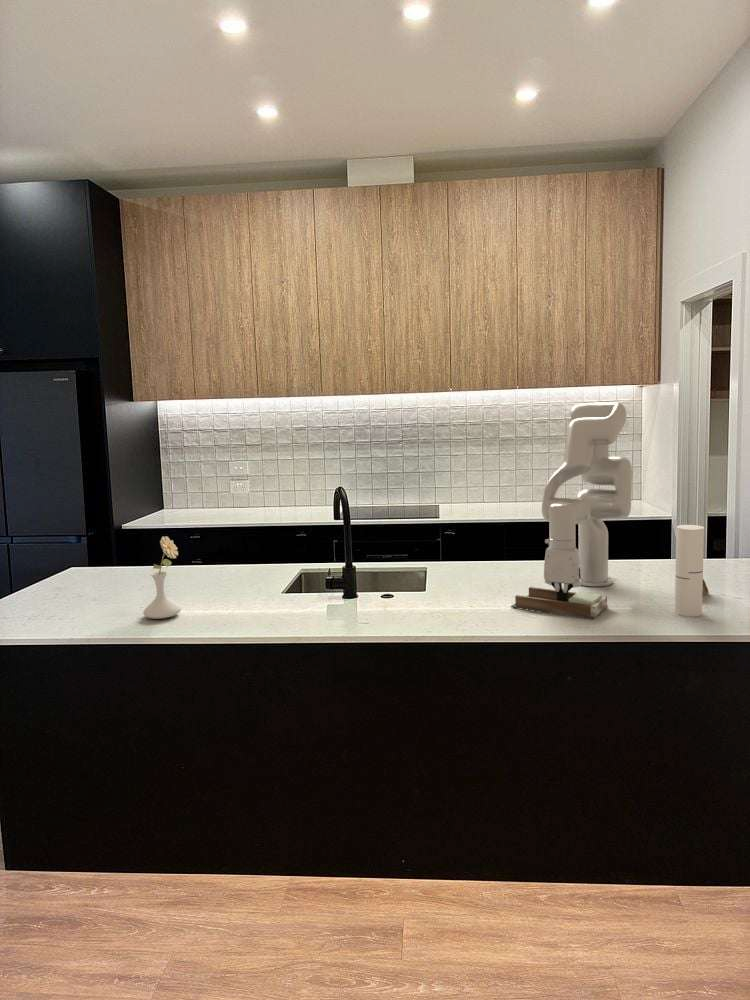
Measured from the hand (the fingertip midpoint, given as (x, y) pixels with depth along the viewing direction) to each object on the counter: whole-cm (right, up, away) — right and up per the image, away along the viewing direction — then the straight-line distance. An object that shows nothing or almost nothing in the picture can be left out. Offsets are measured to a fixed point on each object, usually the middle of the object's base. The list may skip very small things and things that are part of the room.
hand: (562, 604), depth 215 cm
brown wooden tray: (-1, -1, +1) cm, 2 cm away
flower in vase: (-122, -5, +10) cm, 123 cm away
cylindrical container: (+34, -1, -9) cm, 35 cm away
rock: (+42, +1, +7) cm, 43 cm away
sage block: (+6, -2, -4) cm, 7 cm away
